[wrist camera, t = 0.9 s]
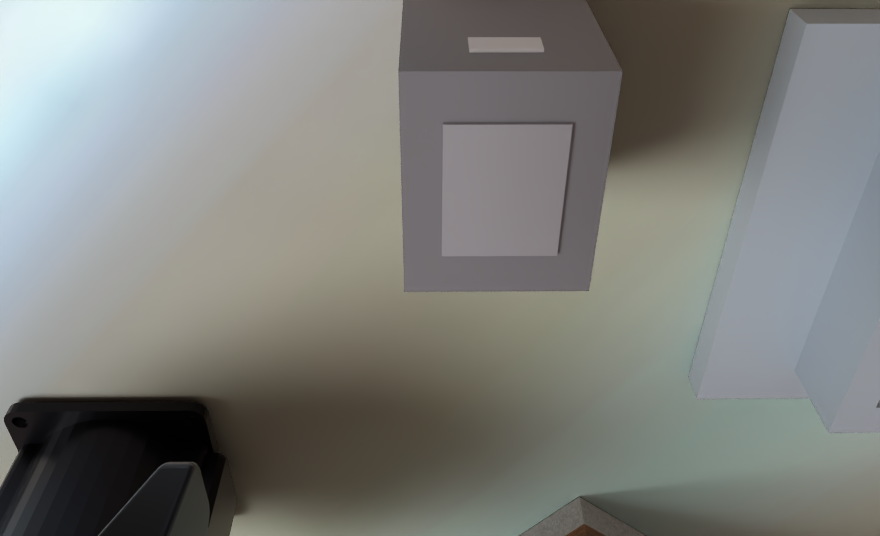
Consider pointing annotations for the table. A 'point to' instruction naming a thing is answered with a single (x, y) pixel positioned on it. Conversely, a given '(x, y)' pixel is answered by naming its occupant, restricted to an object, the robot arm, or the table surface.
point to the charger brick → (503, 143)
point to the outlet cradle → (806, 234)
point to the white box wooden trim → (581, 522)
